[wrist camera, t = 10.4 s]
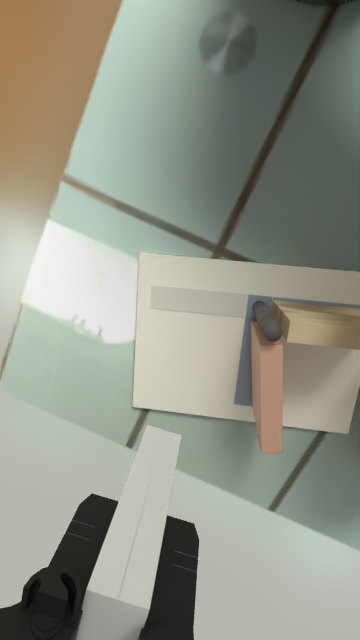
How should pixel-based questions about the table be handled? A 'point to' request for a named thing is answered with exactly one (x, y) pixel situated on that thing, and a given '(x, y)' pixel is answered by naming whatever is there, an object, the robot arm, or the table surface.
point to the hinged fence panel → (267, 389)
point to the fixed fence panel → (310, 323)
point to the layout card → (237, 340)
